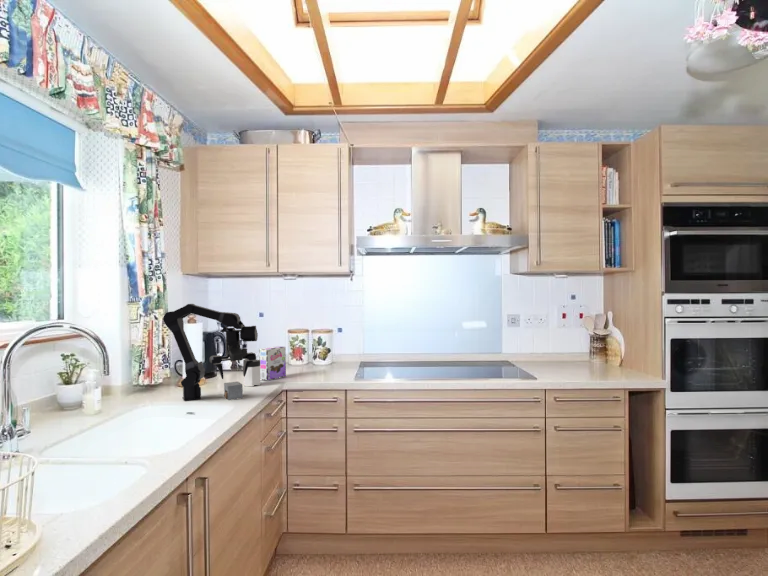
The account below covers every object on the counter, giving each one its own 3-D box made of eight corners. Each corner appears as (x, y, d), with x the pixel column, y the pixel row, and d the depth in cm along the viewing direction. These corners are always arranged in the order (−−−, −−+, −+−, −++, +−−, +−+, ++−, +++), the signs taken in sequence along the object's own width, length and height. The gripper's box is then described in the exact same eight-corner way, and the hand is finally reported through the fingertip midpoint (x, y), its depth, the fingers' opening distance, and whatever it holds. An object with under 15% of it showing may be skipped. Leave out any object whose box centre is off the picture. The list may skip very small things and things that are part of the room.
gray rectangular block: (228, 400, 194) (228, 386, 194) (224, 396, 201) (224, 383, 201) (242, 398, 197) (242, 384, 197) (238, 394, 204) (237, 381, 204)
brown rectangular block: (225, 398, 196) (225, 393, 196) (224, 397, 198) (224, 392, 198) (242, 396, 200) (242, 391, 200) (241, 395, 202) (240, 390, 202)
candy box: (267, 381, 235) (266, 349, 235) (259, 380, 238) (258, 348, 238) (286, 376, 246) (285, 346, 246) (278, 375, 249) (278, 345, 249)
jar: (264, 383, 228) (264, 359, 228) (256, 386, 220) (256, 362, 220) (248, 383, 230) (247, 359, 230) (239, 386, 222) (239, 361, 222)
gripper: (214, 345, 188) (214, 383, 188) (259, 341, 197) (260, 377, 197) (209, 343, 197) (209, 379, 197) (252, 339, 207) (253, 374, 207)
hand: (233, 377), depth 199 cm, fingers open, 9 cm apart
